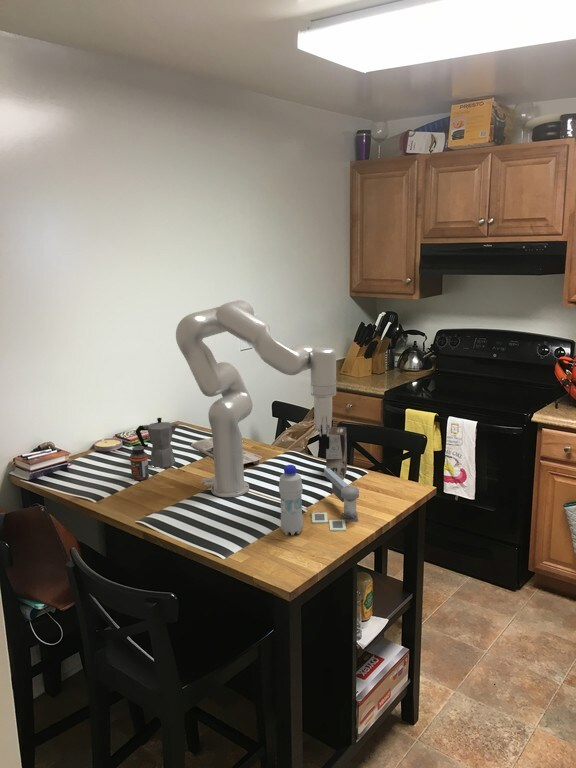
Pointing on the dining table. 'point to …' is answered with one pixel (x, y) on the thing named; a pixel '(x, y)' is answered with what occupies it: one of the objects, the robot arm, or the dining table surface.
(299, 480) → the bottle
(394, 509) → the dining table surface
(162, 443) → the coffeepot
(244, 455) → the newspaper
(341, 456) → the coffee box
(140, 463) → the supplement bottle
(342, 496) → the bar
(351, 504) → the post
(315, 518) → the label tile
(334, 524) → the label tile
